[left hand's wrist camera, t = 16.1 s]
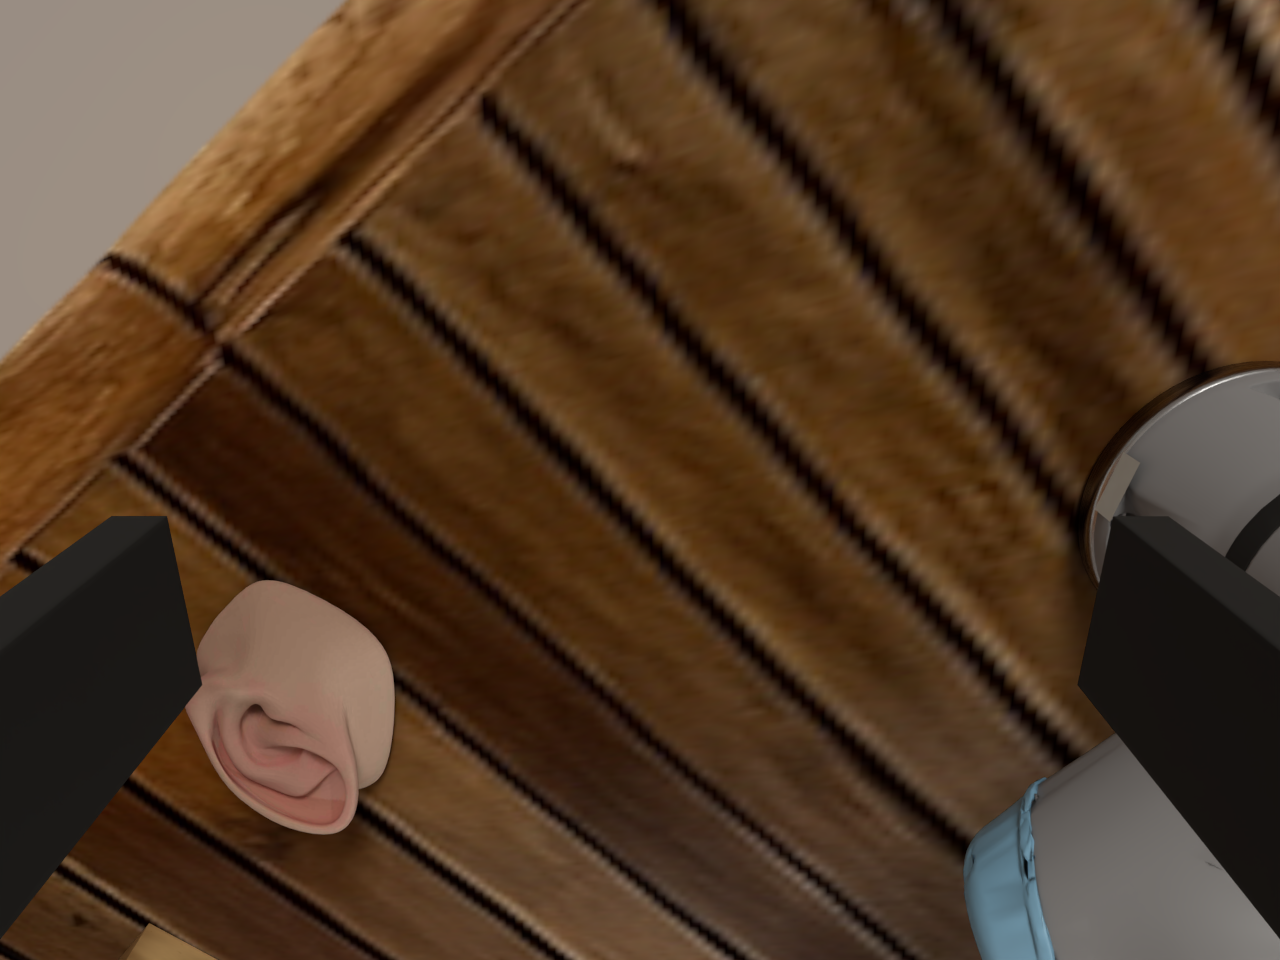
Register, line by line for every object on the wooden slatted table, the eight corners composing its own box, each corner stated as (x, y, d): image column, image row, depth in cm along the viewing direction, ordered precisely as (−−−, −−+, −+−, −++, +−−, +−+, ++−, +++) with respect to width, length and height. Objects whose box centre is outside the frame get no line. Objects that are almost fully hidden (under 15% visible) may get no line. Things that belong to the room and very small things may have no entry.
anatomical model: (176, 598, 43) (408, 660, 45) (213, 561, 47) (425, 620, 48) (145, 805, 48) (355, 856, 49) (181, 756, 52) (375, 805, 53)
